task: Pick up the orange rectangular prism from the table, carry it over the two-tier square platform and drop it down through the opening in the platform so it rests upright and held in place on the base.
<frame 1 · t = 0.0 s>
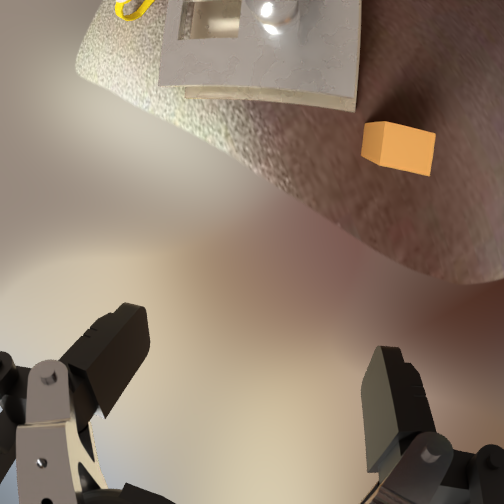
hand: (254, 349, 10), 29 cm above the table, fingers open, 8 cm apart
watch: (145, 7, 30), on the table
two-tier square platform: (282, 33, 30), on the table
orange rectangular prism: (382, 143, 33), on the table
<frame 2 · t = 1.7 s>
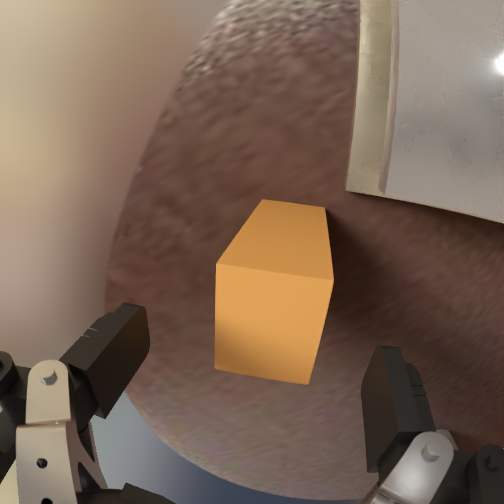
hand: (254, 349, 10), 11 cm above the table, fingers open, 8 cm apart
two-tier square platform: (482, 84, 14), on the table
orange rectangular prism: (289, 240, 20), on the table
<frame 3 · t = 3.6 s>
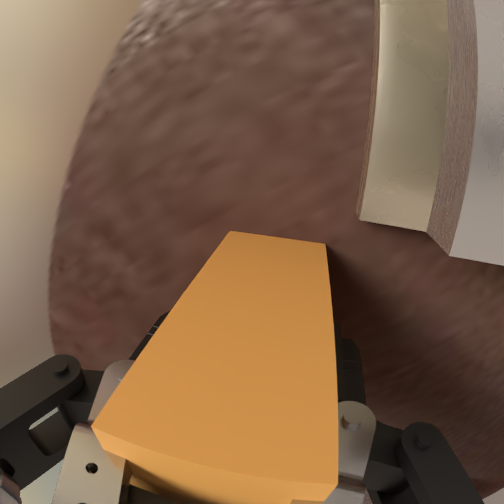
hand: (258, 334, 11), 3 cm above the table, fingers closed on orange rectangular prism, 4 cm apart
orange rectangular prism: (271, 289, 14), on the table, touching gripper
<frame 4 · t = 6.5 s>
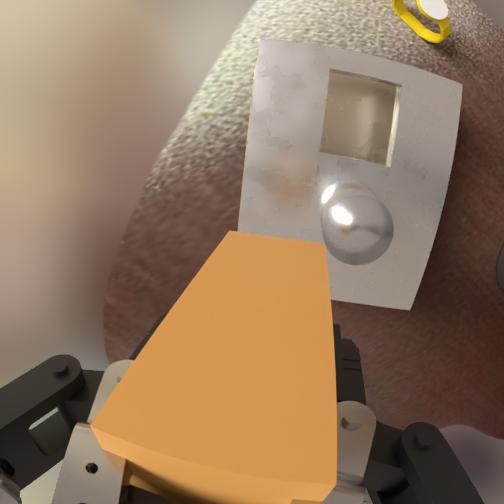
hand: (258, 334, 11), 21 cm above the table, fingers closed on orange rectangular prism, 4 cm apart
watch: (411, 23, 21), on the table
two-tier square platform: (338, 190, 29), on the table
orange rectangular prism: (270, 289, 14), point 17 cm above the table, touching gripper
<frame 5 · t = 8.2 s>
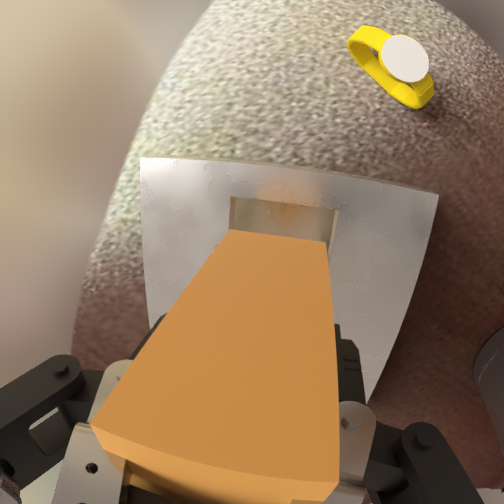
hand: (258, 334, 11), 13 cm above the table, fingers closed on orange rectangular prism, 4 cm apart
watch: (380, 74, 17), on the table
two-tier square platform: (275, 307, 25), on the table
orange rectangular prism: (271, 288, 14), point 10 cm above the table, touching gripper
when the fingers open (8 cm above the table, at t = 9.6 s): orange rectangular prism drops 3 cm, resting on two-tier square platform.
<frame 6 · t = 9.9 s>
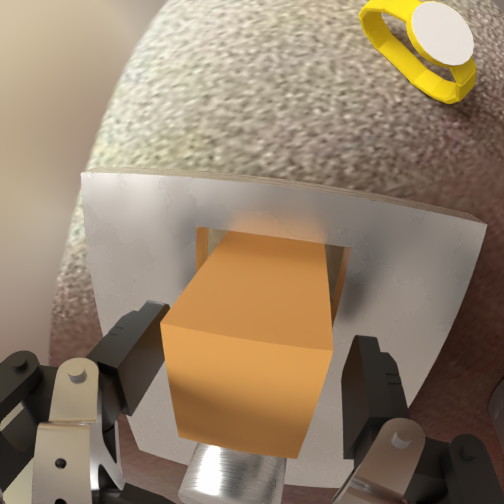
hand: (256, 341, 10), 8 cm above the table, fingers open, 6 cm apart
watch: (400, 59, 13), on the table
two-tier square platform: (267, 346, 21), on the table
orange rectangular prism: (277, 260, 17), point 1 cm above the table, touching two-tier square platform
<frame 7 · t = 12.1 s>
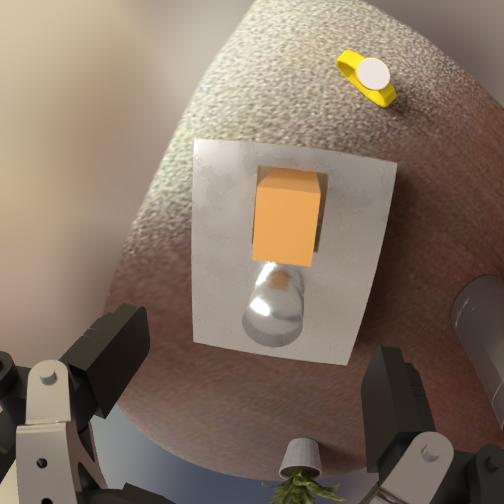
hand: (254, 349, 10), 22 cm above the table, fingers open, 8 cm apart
house plant: (301, 448, 46), on the table
watch: (360, 83, 25), on the table
two-tier square platform: (285, 258, 33), on the table
orange rectangular prism: (292, 195, 29), point 1 cm above the table, touching two-tier square platform
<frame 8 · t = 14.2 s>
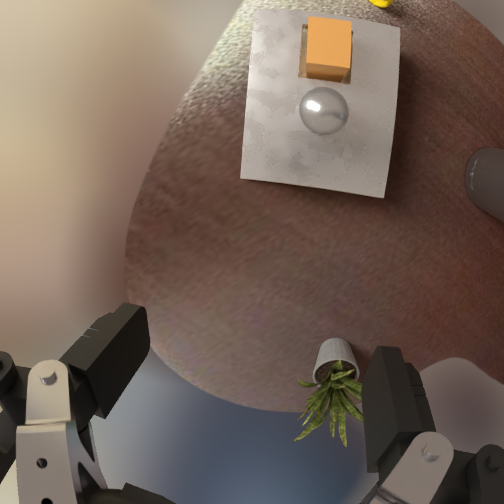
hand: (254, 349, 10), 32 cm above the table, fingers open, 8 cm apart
house plant: (332, 355, 49), on the table
two-tier square platform: (319, 116, 35), on the table
orange rectangular prism: (324, 63, 32), point 1 cm above the table, touching two-tier square platform
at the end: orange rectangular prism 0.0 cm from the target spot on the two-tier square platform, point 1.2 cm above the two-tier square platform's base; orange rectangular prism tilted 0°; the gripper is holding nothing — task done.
